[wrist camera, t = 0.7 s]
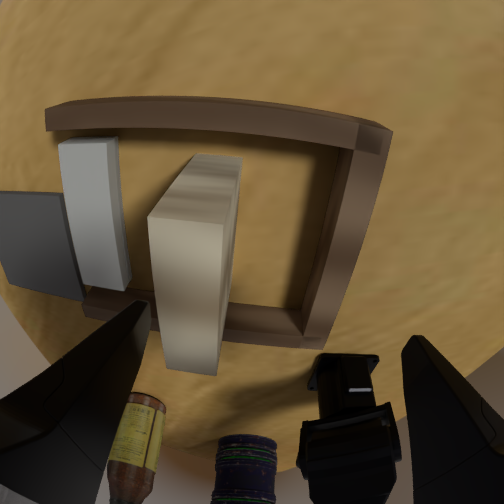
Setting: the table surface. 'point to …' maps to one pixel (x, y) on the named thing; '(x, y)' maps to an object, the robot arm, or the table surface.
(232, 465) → the dark blue cylinder
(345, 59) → the table surface
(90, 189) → the offcut top
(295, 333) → the frame
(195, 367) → the pale wooden block
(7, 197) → the mat
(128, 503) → the sauce bottle
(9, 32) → the table surface
